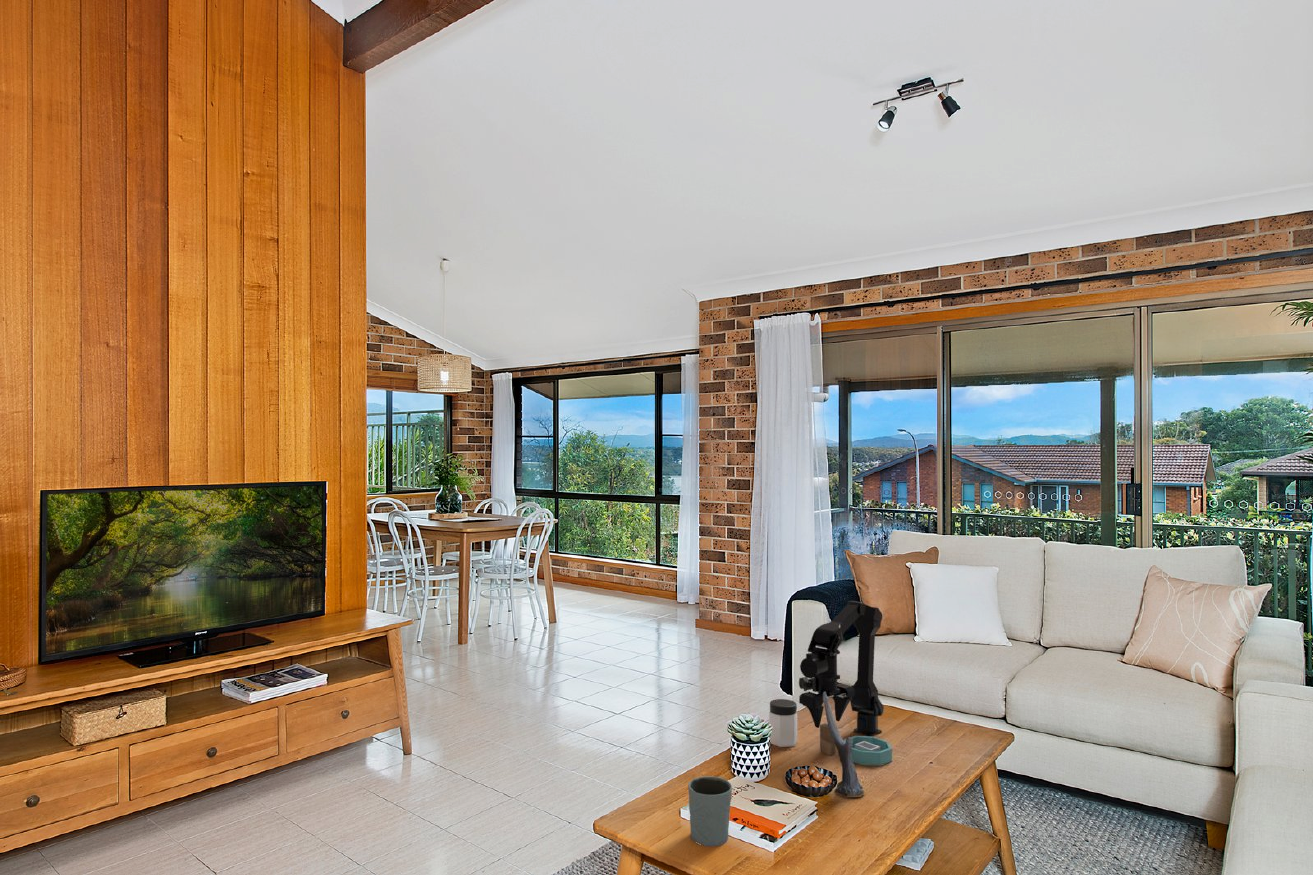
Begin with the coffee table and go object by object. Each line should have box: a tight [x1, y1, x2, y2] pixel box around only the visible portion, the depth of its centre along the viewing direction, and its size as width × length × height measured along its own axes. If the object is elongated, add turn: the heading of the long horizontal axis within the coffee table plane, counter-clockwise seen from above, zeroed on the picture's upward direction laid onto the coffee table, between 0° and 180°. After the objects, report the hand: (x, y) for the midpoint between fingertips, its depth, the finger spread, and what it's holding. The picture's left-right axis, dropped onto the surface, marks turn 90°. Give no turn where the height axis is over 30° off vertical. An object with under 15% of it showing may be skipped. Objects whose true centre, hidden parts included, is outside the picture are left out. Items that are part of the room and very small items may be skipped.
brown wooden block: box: [819, 722, 836, 756], centre depth 232 cm, size 2×4×8 cm, turn 37°
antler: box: [823, 692, 866, 799], centre depth 206 cm, size 12×8×25 cm
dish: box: [843, 735, 893, 767], centre depth 229 cm, size 13×13×4 cm
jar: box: [768, 698, 798, 748], centre depth 241 cm, size 9×8×12 cm
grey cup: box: [687, 775, 733, 847], centre depth 180 cm, size 10×10×12 cm
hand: (827, 724), depth 232 cm, fingers open, 9 cm apart
